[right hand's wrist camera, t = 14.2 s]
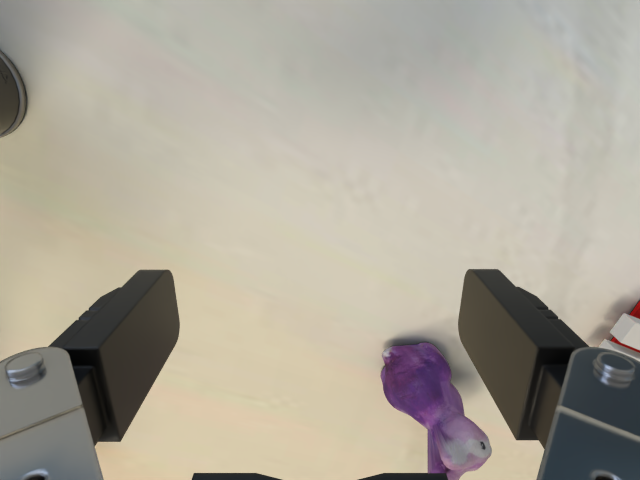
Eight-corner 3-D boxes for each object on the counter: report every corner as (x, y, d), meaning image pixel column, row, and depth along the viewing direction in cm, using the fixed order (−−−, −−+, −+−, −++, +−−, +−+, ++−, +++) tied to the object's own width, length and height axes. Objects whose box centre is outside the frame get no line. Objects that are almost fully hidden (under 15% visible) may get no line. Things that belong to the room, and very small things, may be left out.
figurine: (459, 394, 52) (512, 508, 38) (381, 400, 52) (404, 515, 38) (462, 332, 48) (520, 432, 34) (378, 339, 49) (401, 441, 35)
